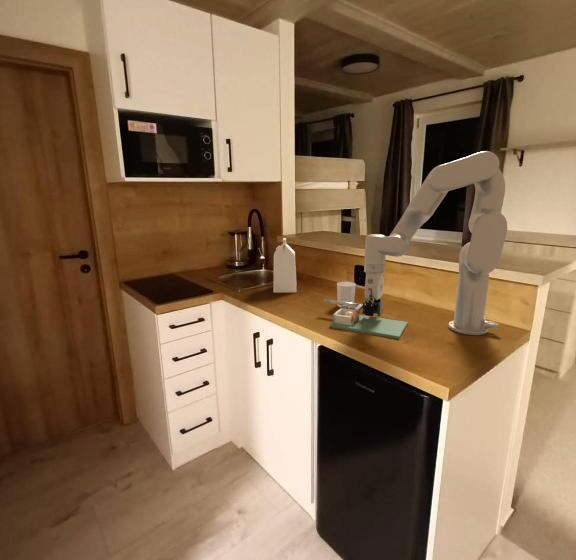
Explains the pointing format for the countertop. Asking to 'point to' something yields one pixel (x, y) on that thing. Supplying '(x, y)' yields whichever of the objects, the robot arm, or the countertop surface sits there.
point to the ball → (349, 314)
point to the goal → (342, 316)
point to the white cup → (345, 292)
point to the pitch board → (374, 326)
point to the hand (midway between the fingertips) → (372, 311)
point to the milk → (284, 269)
